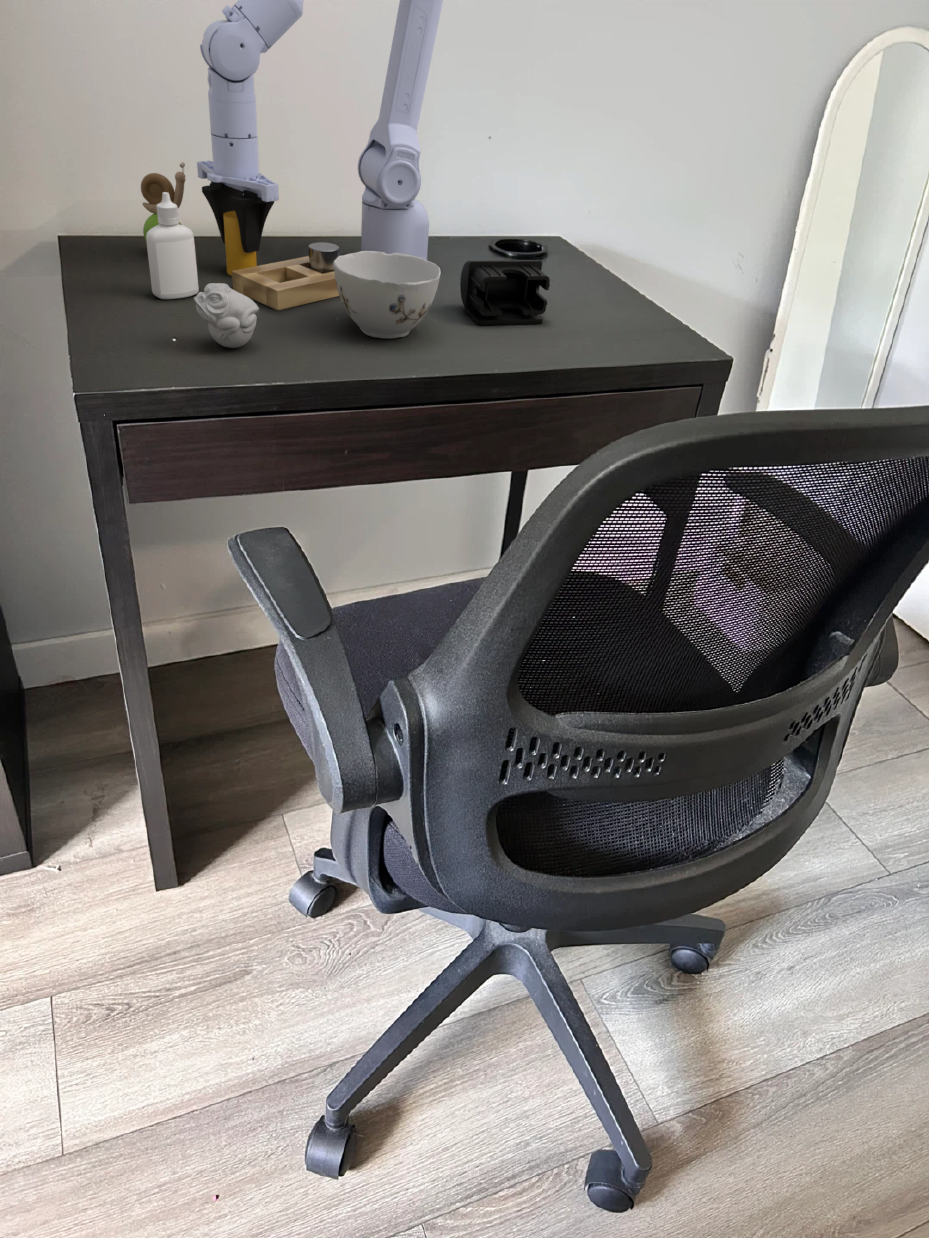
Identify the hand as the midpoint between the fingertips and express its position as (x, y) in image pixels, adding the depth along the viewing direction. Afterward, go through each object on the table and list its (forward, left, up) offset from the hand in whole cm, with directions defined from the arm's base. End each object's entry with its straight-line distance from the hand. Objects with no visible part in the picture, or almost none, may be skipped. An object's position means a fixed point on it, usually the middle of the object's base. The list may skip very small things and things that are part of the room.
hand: (240, 247), depth 123 cm
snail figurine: (+3, -12, -4) cm, 13 cm away
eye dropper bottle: (+12, +3, -4) cm, 13 cm away
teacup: (-1, +26, -4) cm, 27 cm away
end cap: (-18, +32, -4) cm, 37 cm away
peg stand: (-3, +10, -3) cm, 11 cm away
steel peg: (-6, +10, -3) cm, 12 cm away
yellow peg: (0, 0, -3) cm, 3 cm away
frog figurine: (+17, +21, -4) cm, 28 cm away
